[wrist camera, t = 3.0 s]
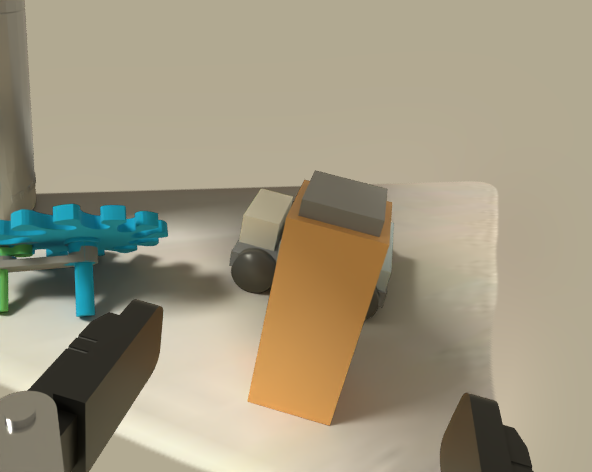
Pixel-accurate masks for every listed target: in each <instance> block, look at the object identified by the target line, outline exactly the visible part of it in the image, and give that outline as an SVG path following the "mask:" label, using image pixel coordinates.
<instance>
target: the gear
mask: <svg viewBox="0 0 592 472" xmlns="http://www.w3.org/2000/svg"><path fill="white" fill-rule="evenodd" d="M100 212H101V215H100V216H97V215H91V214H88V213H85V212H83V211H81V210H80V206H79V205H77V204H65V205H58V206H54V207H53V215H47V214H42V213H39V212H36V211H33V210H26V209H21V210H18V211H15V212H13V213H12V214H11V221H7V220H0V312H7V311H8V272H20V271H31V270H43V269H55V268H67V267H75V293H76V316H77V317H82V316H92V315H95V302H94V280H93V265H95V264H98V256H103V255H105V252H104V250H111V251H117V252H120V253H129V252H133V251H136V250H137V245H140V246H155V245H157V244H158V243H159V239H158V238H162V237H167V236H168V230H167V223H166V222H165V221H163V220H158V213H154V212H149V211H139V212H136V213H135V217H134V218H131V219H126V207H125V206H122V205H104V206H101V207H100ZM37 249H46V257H39V258H26V259H17V258H16V257H30V256H32V255H33V254H35V250H37ZM13 256H14V257H13Z"/></svg>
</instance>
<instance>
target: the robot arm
mask: <svg viewBox="0 0 592 472" xmlns="http://www.w3.org/2000/svg"><path fill="white" fill-rule="evenodd" d="M33 155H34V153H33V137H32V120H31V103H30V85H29V68H28V51H27V33H26V16H25V1H24V0H0V220H7V221H11V214H12V213H13V212H15V211H18V210H21V209H26V210H33V208H34V206H35V204H36V192H35V183H36V178H35V172H34V156H33ZM162 321H163V308H162V307H161V306H158V305H155V304H151V303H147V302H144V301H140V300H137V299H134V300H133V301H131V302H130V304H129V305H128V306H127V307H126V308H125V309H124V311H123V312H122V313H121V314H120V315H117V314H114V313H110V312H109V313H107V314H105V315H103V316H101V317H99V318H97V319H95V320H93V321H92V322H90V323H89V325H88V326H87V327H86V328H85V329H84V330H83V331H82V332H81V333H80V334H79V337H78V338H76V339H75V340H74V341H73V342H72V343H71V344H70V345H69V348H68V349H66V350H65V351H64V352H63V353H62V354H61V355H60V356H59V357H58V358H57V359H56V360H55V361H54V363H53V364H52V365H51V366H50V367H49V368H48V369H47V370H46V371H45V372H44V373H43V374H42V376H41V377H40V378H39V379H38V380H37V381H36V382H35V383H34V384H33V385H32V386H31V388H30V389H28V390H27V391H21V392H16V393H12V394H9V395H7V396H5V397H3V398H1V399H0V472H89V470H90V469H91V468H92V466H93V464H94V463H95V461H96V460H97V458H98V457H99V455H100V454H101V452H102V450H103V449H104V447H105V446H106V444H107V443H108V441H109V440H110V438H111V437H112V435H113V433H114V432H115V430H116V429H117V427H118V426H119V424H120V423H121V421H122V419H123V418H124V416H125V415H126V413H127V412H128V410H129V409H130V407H131V406H132V404H133V402H134V401H135V399H136V398H137V396H138V395H139V393H140V392H141V390H142V388H143V387H144V385H145V384H146V382H147V381H148V379H149V378H150V376H151V374H152V373H153V371H154V369H155V366H156V364H157V361H158V358H159V353H160V345H161V333H162ZM440 466H441V472H533V471H532V464H531V460H530V456H529V452H528V449H527V447H526V445H525V443H524V442H523V440H522V439H521V437H520V436H519V435H518V433H517V431H516V430H515V429H514V428H512V427H508V426H505V425H503V424H502V419H501V415H500V410H499V406H498V403H497V402H496V401H494V400H490V399H487V398H483V397H480V396H476V395H473V394H469V393H465V394H464V395H463V396H462V398H461V399H460V402H459V404H458V406H457V408H456V410H455V412H454V414H453V416H452V418H451V421H450V423H449V425H448V427H447V429H446V431H445V433H444V436H443V439H442V443H441V449H440Z"/></svg>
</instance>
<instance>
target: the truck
mask: <svg viewBox="0 0 592 472" xmlns="http://www.w3.org/2000/svg"><path fill="white" fill-rule="evenodd" d="M293 202H294V201H293V196H289V195H285V194H281V193H277V192H274V191H270V190H266V189H262V188H261V189H260V191H259V192H258V194H257V195H256V197H255V198H254V200H253V201H252V203H251V204H250V206H249V207H248V209H247V210H246V212H245V213H244V215H243V221H242V227H241V233H240V238H239V240H238V242H237V243H236V245H235V247H234V248H233V250H232V252H231V258H230V264H229V266H232V268H231V274H232V277H233V280H234V281H235V283H236V284H237V285H238V286H239V287H240V288H242V289H243V290H245V291H248V292H252V293H260V292H264V291H266V290H267V289H269V288H270V287H271V285H272V282H273V277H274V273H275V268H276V263H277V258H278V254H279V249H280V244H281V239H282V234H283V230H284V225H285V220H286V216H287V214H288V212H289V210H290V208H291V206H292V204H293ZM393 230H394V223H393V222H391V229H390V245H389V248H388V251H387V254H386V257H385V260H384V263H383V266H382V269H381V272H380V275H379V278H378V281H377V284H376V287H375V290H374V293H373V296H372V299H371V302H370V305H369V308H368V311H367V314H366V317H365V320H366V319H369V318H370V317H372V316H373V315H374V314H375V313H376V311H377V309H378V307H381V308H382V306H383V303H384V300H385V297H386V294H387V284H388V281H389V278H390V275H391V269H392V250H393Z"/></svg>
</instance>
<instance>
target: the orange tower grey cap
mask: <svg viewBox="0 0 592 472" xmlns="http://www.w3.org/2000/svg"><path fill="white" fill-rule="evenodd" d="M386 200H387V189H385V188H381V187H378V186H374V185H370V184H366V183H362V182H358V181H354V180H350V179H347V178H342V177H339V176H335V175H331V174H327V173H323V172H319V171H315V172H314V174H313V176H312V178H311V180H310V181H307V180H304V182H303V184H302V186H301V188H300V190H299V192H298V194H297V196H296V198H295V200H294V202H293V204H292V206H291V208H290V210H289V212H288V214H287V216H286V220H285V225H284V230H283V234H282V239H281V244H280V249H279V254H278V258H277V263H276V268H275V273H274V277H273V282H272V287H271V292H270V296H269V301H268V306H267V311H266V315H265V320H264V325H263V330H262V334H261V339H260V344H259V349H258V354H257V358H256V363H255V368H254V373H253V377H252V382H251V387H250V392H249V396H248V402H251V403H254V404H258V405H261V406H265V407H268V408H271V409H275V410H278V411H281V412H285V413H288V414H292V415H295V416H298V417H302V418H305V419H309V420H312V421H315V422H319V423H322V424H325V425H329V426H330V423H331V420H332V417H333V414H334V411H335V408H336V405H337V402H338V399H339V396H340V393H341V390H342V387H343V384H344V381H345V378H346V375H347V372H348V369H349V366H350V363H351V360H352V356H353V353H354V350H355V347H356V344H357V341H358V338H359V335H360V332H361V329H362V326H363V323H364V320H365V317H366V314H367V311H368V308H369V305H370V302H371V299H372V296H373V293H374V290H375V287H376V284H377V281H378V278H379V275H380V272H381V269H382V266H383V263H384V260H385V257H386V254H387V251H388V248H389V245H390V229H391V213H392V202H388V201H386Z"/></svg>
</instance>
